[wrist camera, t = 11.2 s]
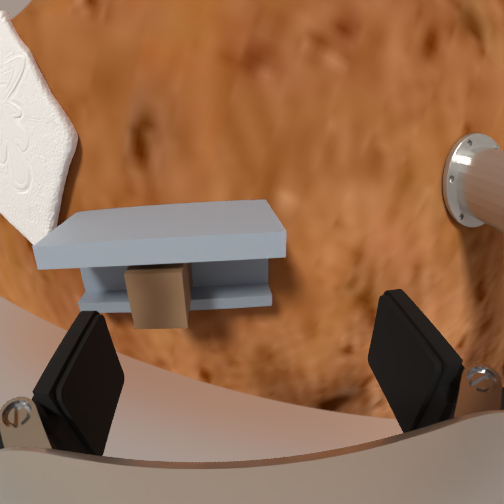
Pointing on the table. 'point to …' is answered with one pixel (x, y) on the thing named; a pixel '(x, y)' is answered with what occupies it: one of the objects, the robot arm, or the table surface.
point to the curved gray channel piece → (170, 250)
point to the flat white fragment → (30, 140)
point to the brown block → (159, 295)
